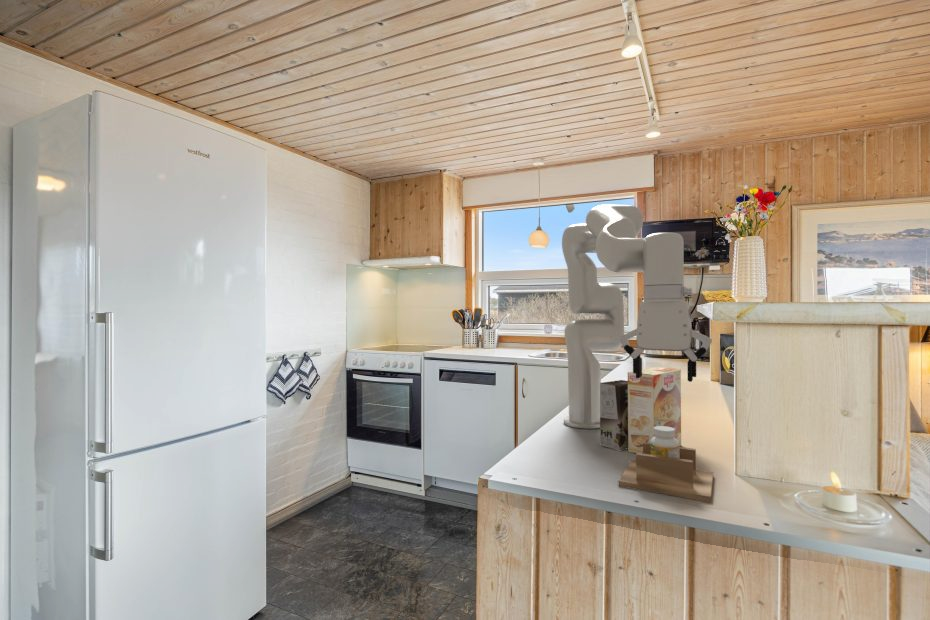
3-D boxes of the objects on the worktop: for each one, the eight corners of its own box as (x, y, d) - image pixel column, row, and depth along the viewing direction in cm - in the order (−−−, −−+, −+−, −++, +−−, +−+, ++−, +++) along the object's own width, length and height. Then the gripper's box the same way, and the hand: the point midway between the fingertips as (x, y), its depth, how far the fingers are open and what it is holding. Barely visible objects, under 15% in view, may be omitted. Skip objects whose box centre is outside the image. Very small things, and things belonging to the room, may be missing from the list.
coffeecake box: (655, 458, 106) (654, 374, 106) (626, 452, 111) (625, 371, 111) (683, 445, 116) (682, 368, 116) (655, 439, 121) (654, 366, 121)
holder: (631, 464, 102) (631, 437, 102) (713, 477, 94) (712, 447, 94) (618, 486, 90) (617, 455, 90) (710, 502, 82) (710, 468, 82)
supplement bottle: (686, 479, 90) (685, 430, 90) (663, 482, 89) (662, 432, 89) (667, 470, 95) (666, 424, 95) (645, 472, 94) (644, 426, 94)
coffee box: (620, 451, 111) (619, 385, 111) (599, 445, 117) (598, 382, 117) (643, 445, 116) (642, 381, 116) (622, 439, 122) (621, 378, 122)
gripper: (712, 294, 91) (713, 379, 92) (622, 295, 100) (623, 373, 100) (711, 293, 85) (711, 385, 85) (615, 295, 94) (616, 378, 94)
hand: (663, 378), depth 93 cm, fingers open, 9 cm apart
